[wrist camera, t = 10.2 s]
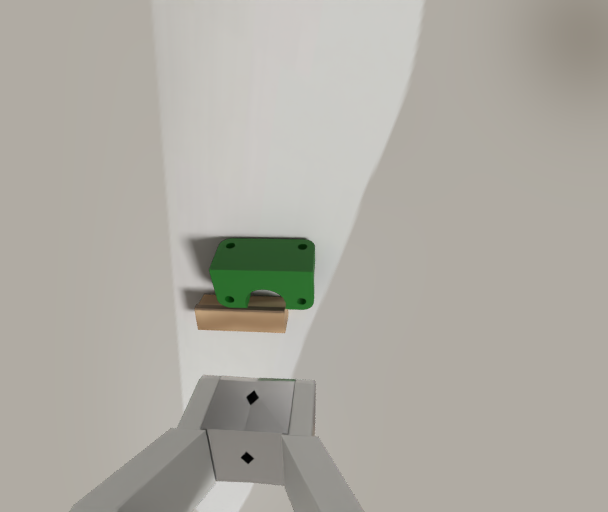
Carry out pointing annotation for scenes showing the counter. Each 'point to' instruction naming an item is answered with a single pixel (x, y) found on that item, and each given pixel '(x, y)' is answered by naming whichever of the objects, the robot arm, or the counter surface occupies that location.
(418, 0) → the counter surface
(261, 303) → the stop rail
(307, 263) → the clamp
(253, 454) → the robot arm
